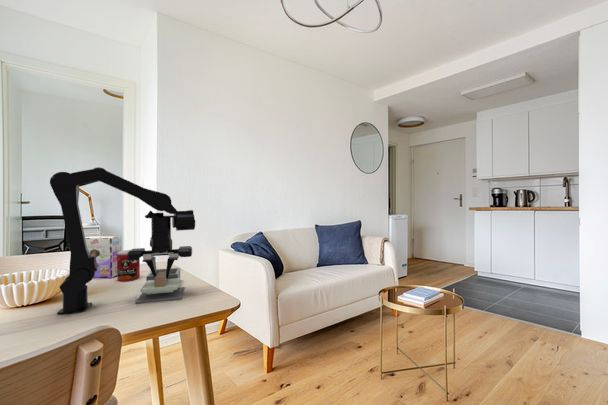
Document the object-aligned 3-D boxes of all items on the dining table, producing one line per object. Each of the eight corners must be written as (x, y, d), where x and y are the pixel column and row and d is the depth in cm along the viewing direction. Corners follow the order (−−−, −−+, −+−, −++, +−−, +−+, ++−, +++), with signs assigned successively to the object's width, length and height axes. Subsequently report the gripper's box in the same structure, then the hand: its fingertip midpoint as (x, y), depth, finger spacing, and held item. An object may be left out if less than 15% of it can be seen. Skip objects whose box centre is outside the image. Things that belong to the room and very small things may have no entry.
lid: (177, 292, 94) (176, 277, 94) (140, 296, 91) (140, 279, 91) (180, 283, 104) (180, 269, 104) (147, 286, 101) (147, 271, 100)
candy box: (121, 274, 124) (121, 235, 124) (111, 278, 118) (110, 237, 118) (91, 274, 125) (90, 235, 125) (79, 277, 120) (79, 237, 119)
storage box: (177, 288, 106) (177, 274, 105) (146, 290, 103) (146, 276, 102) (180, 280, 115) (180, 267, 115) (152, 282, 112) (151, 269, 112)
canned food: (114, 282, 113) (113, 253, 113) (121, 277, 121) (120, 250, 120) (136, 280, 115) (136, 252, 115) (142, 275, 123) (141, 249, 122)
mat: (181, 299, 93) (181, 297, 93) (135, 304, 90) (135, 302, 90) (184, 288, 105) (184, 286, 105) (143, 292, 101) (143, 290, 101)
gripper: (193, 228, 107) (193, 271, 108) (135, 229, 102) (135, 275, 102) (190, 231, 97) (191, 279, 97) (126, 233, 91) (126, 284, 91)
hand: (161, 278), depth 97 cm, fingers closed on lid, 3 cm apart
